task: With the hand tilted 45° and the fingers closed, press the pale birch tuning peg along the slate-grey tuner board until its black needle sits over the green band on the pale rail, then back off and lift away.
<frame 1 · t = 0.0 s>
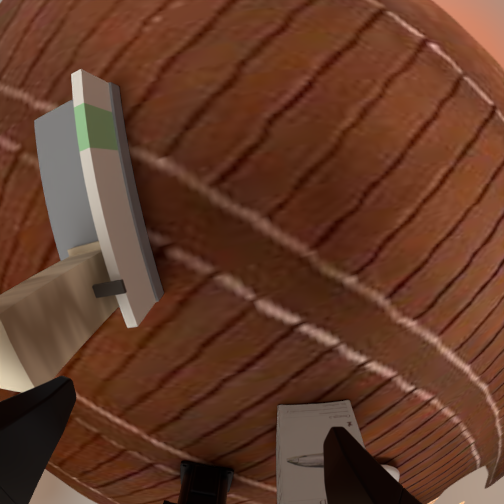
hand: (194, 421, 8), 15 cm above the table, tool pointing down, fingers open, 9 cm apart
tuner board: (94, 201, 21), on the table
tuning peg: (69, 304, 15), point 8 cm above the table, slide at 0.0 cm
flower in vase: (352, 479, 30), on the table
supplement box: (310, 423, 27), on the table
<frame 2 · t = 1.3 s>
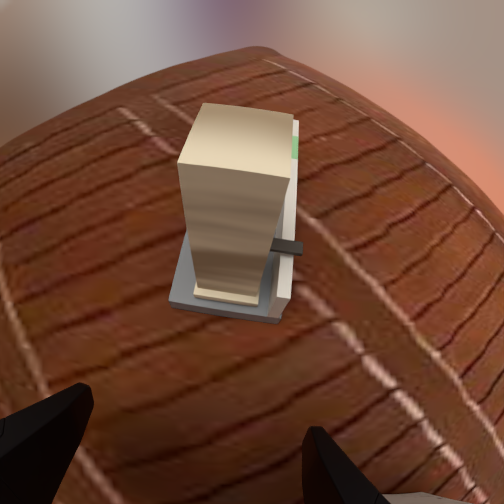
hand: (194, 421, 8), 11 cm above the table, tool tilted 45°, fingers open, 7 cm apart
tuner board: (240, 221, 26), on the table
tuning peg: (252, 224, 16), point 8 cm above the table, slide at 0.0 cm
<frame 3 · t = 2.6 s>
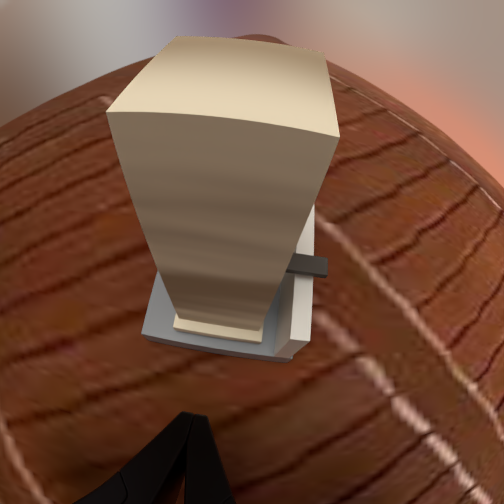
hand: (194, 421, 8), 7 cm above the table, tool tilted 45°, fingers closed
tuner board: (237, 227, 20), on the table
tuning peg: (254, 232, 11), point 8 cm above the table, slide at 0.0 cm
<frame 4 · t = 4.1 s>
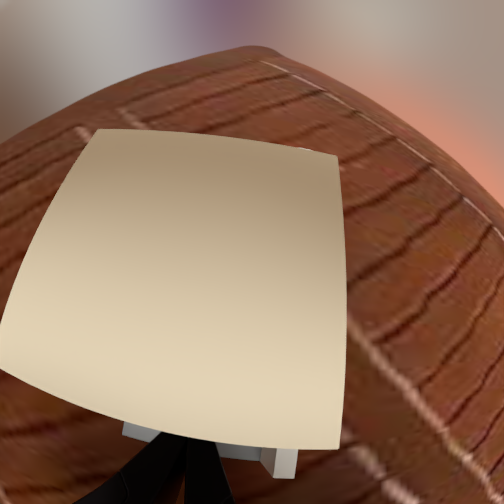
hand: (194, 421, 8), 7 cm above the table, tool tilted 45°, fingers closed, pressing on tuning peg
tuner board: (223, 307, 18), on the table
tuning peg: (236, 355, 9), point 8 cm above the table, slide at 1.3 cm, touching gripper
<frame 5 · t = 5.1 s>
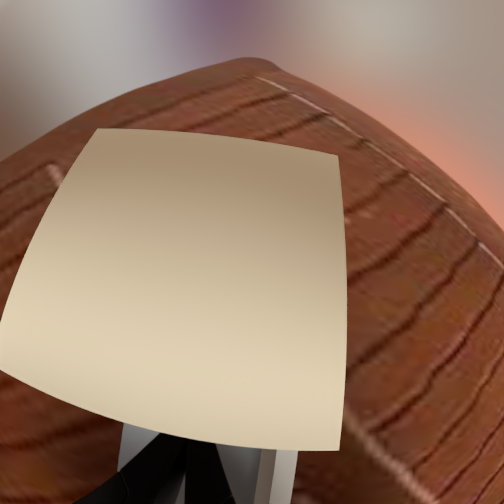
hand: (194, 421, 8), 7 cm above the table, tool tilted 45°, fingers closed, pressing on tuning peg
tuner board: (207, 403, 15), on the table
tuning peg: (236, 355, 9), point 8 cm above the table, slide at 7.1 cm, touching gripper
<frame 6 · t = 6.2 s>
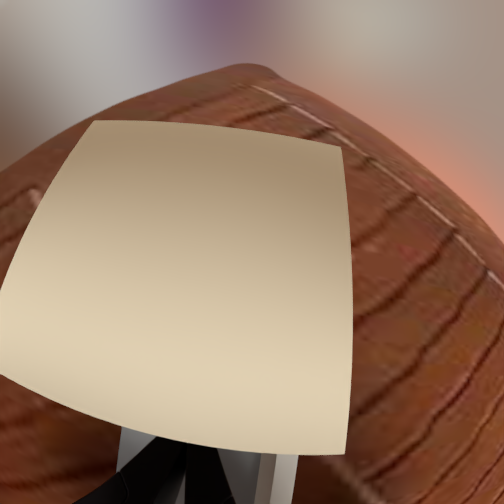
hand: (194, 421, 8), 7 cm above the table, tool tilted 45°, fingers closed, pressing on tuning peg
tuner board: (199, 458, 13), on the table
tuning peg: (236, 354, 8), point 8 cm above the table, slide at 10.3 cm, touching gripper
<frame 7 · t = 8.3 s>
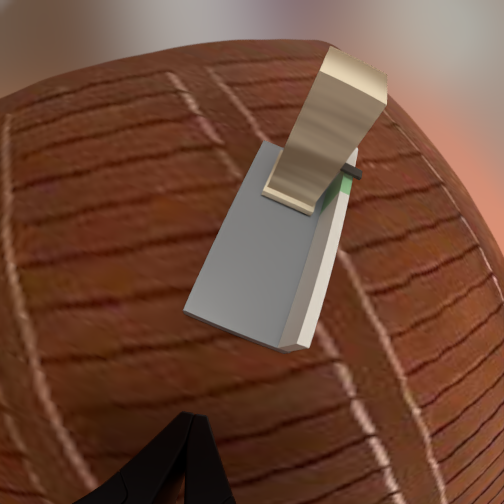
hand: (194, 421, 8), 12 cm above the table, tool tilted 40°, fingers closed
tuner board: (271, 237, 25), on the table
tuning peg: (333, 142, 20), point 8 cm above the table, slide at 10.4 cm
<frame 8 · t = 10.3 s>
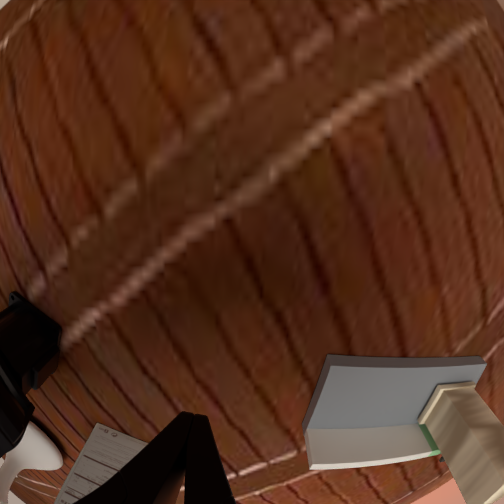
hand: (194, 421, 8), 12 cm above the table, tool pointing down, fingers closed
tuner board: (400, 393, 22), on the table
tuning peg: (468, 450, 15), point 8 cm above the table, slide at 10.4 cm
flower in vase: (33, 429, 27), on the table
supplement box: (127, 449, 26), on the table
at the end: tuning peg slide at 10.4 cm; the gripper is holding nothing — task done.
